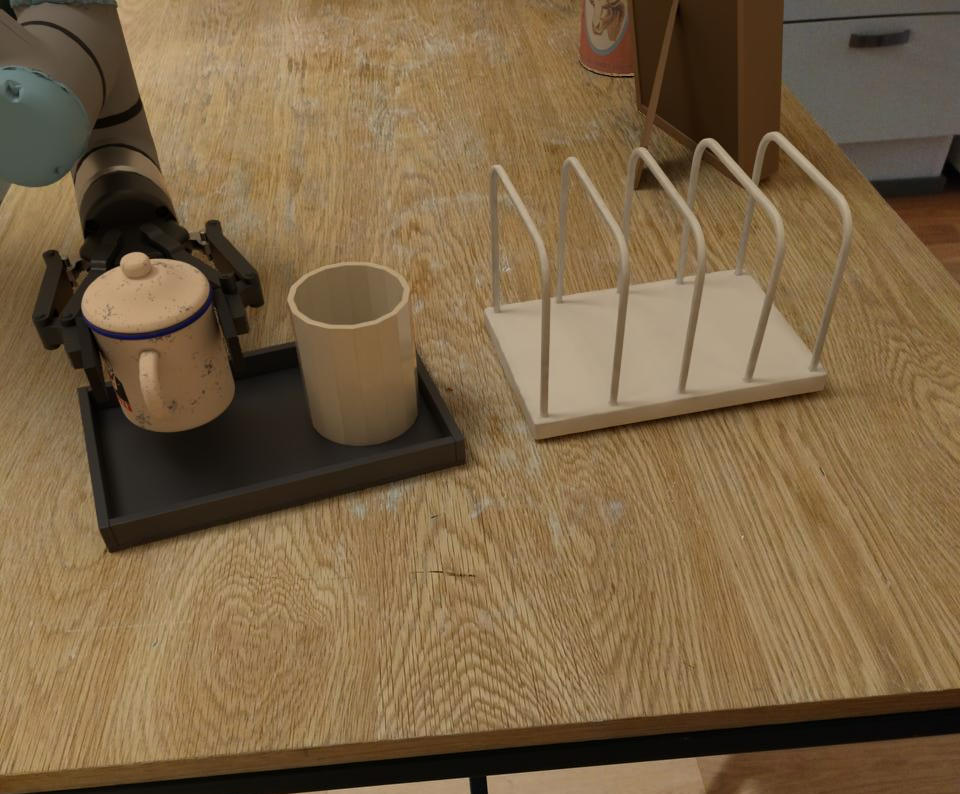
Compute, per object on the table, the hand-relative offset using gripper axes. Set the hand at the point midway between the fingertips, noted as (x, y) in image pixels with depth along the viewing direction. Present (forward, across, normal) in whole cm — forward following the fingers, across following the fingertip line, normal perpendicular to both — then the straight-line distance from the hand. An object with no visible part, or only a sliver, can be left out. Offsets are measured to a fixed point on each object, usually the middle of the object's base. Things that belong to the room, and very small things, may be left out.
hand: (167, 369), depth 66 cm
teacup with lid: (-4, 0, -7) cm, 8 cm away
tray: (-5, -6, -11) cm, 13 cm away
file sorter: (-3, -39, -11) cm, 41 cm away
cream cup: (-5, -14, -11) cm, 18 cm away
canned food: (-64, -65, -11) cm, 92 cm away
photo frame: (-38, -58, -11) cm, 70 cm away
